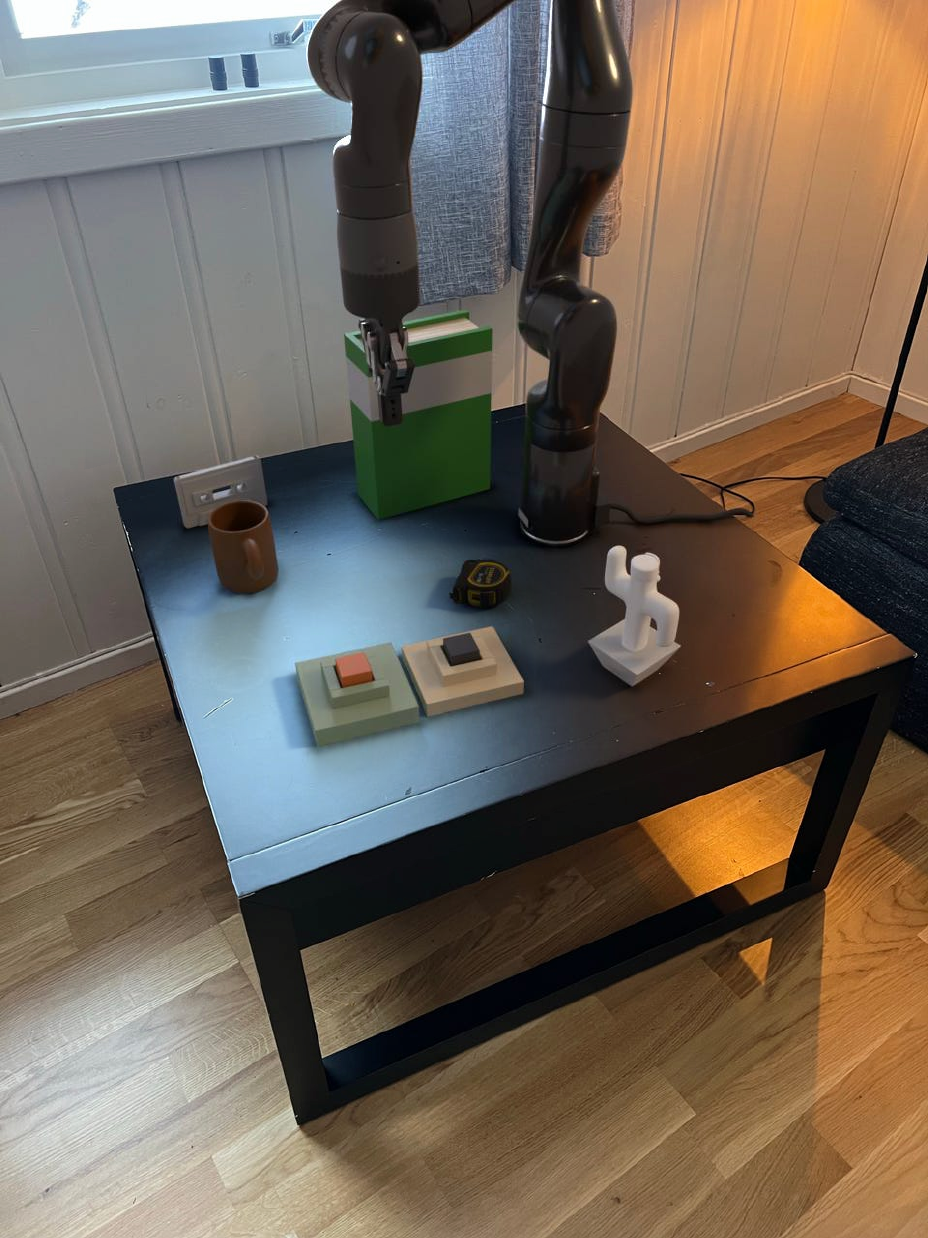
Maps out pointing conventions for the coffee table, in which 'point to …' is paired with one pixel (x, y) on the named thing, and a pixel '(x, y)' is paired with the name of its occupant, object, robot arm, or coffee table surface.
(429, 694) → the beige push button
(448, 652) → the key
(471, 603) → the tape measure
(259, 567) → the mug
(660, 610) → the figurine
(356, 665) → the key
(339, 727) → the green stepped square block
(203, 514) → the cassette
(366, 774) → the coffee table surface
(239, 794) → the coffee table surface
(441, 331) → the hardback book
